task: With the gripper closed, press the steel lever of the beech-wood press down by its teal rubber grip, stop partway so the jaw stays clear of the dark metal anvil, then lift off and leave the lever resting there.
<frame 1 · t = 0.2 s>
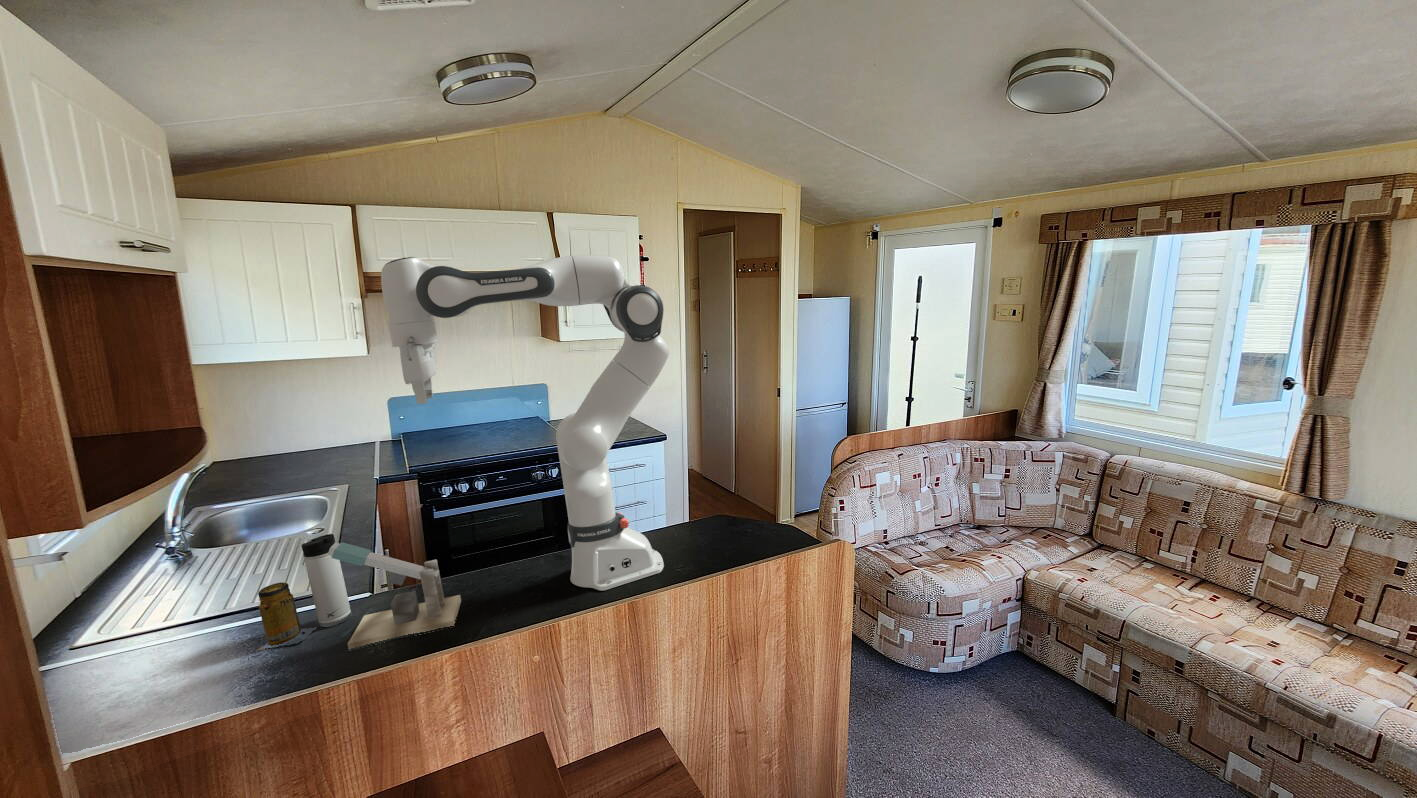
hand: (425, 400, 126), 47 cm above the table, tool pointing down, fingers open, 8 cm apart
press base: (408, 624, 127), on the table
travel mug: (336, 621, 133), on the table
press lever: (383, 568, 125), point 14 cm above the table, hinge at 30.0°
condiment: (289, 639, 127), on the table
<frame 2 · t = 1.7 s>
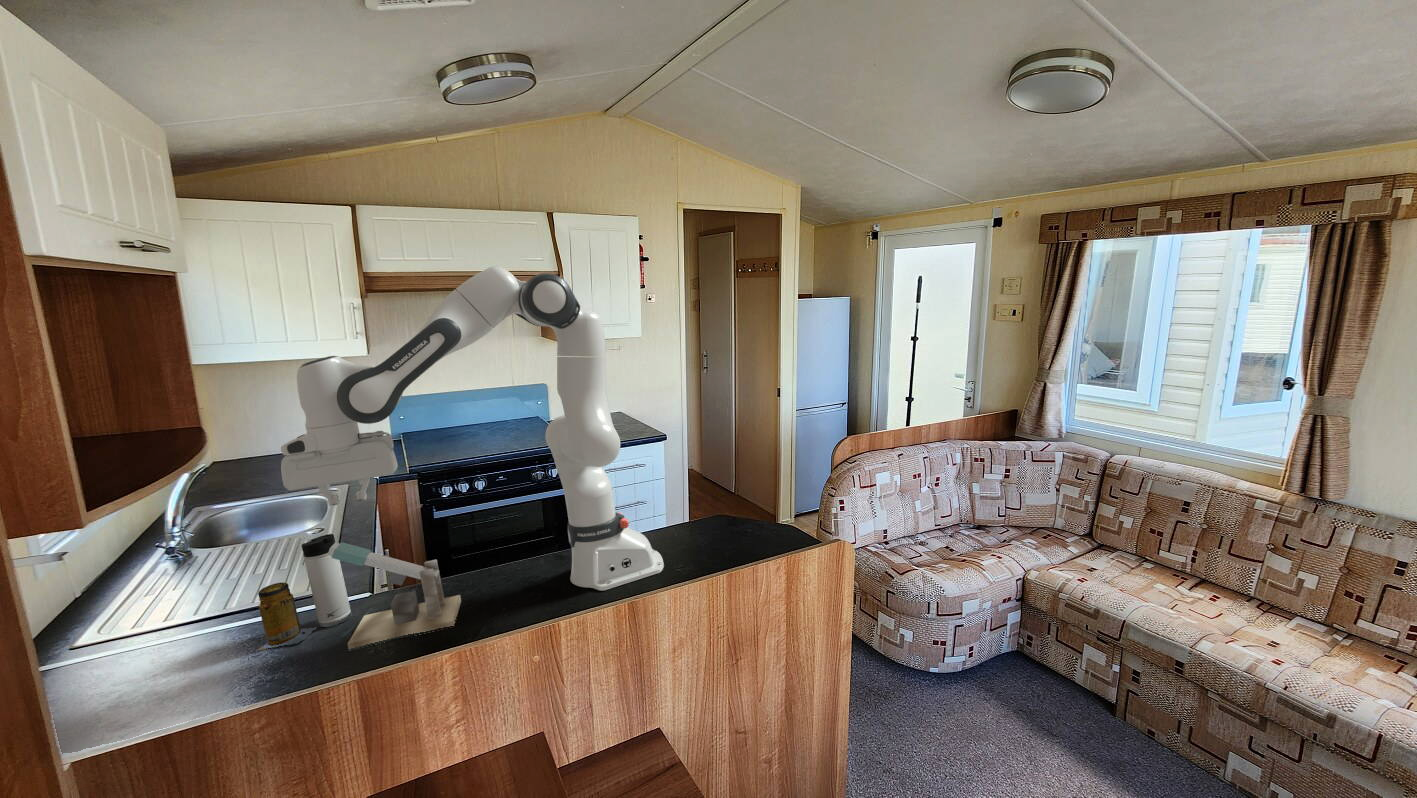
hand: (348, 502, 121), 29 cm above the table, tool pointing down, fingers open, 4 cm apart
nothing on the table moved.
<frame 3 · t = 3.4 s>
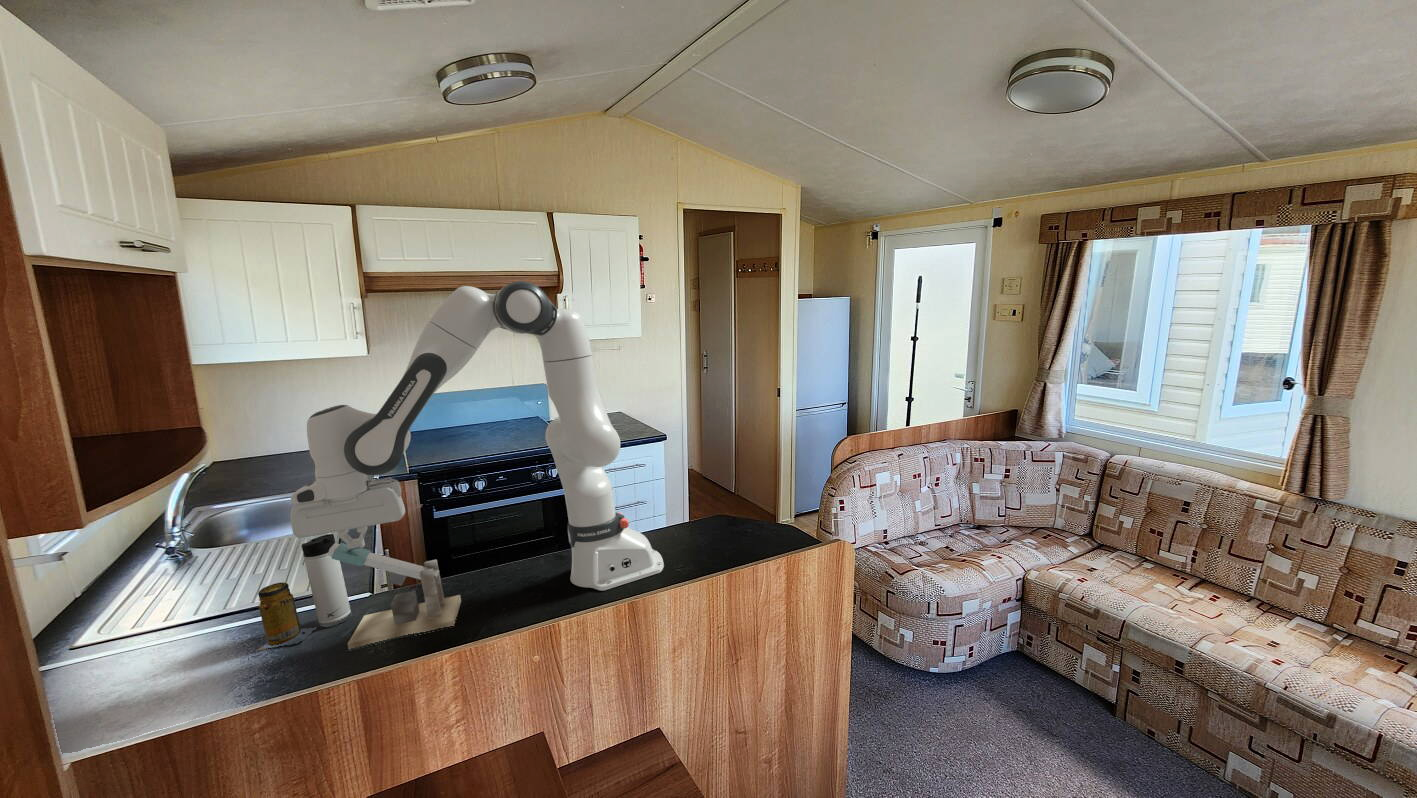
hand: (356, 548, 123), 19 cm above the table, tool pointing down, fingers closed
press lever: (383, 568, 125), point 14 cm above the table, hinge at 29.6°, touching gripper
everything else where it was.
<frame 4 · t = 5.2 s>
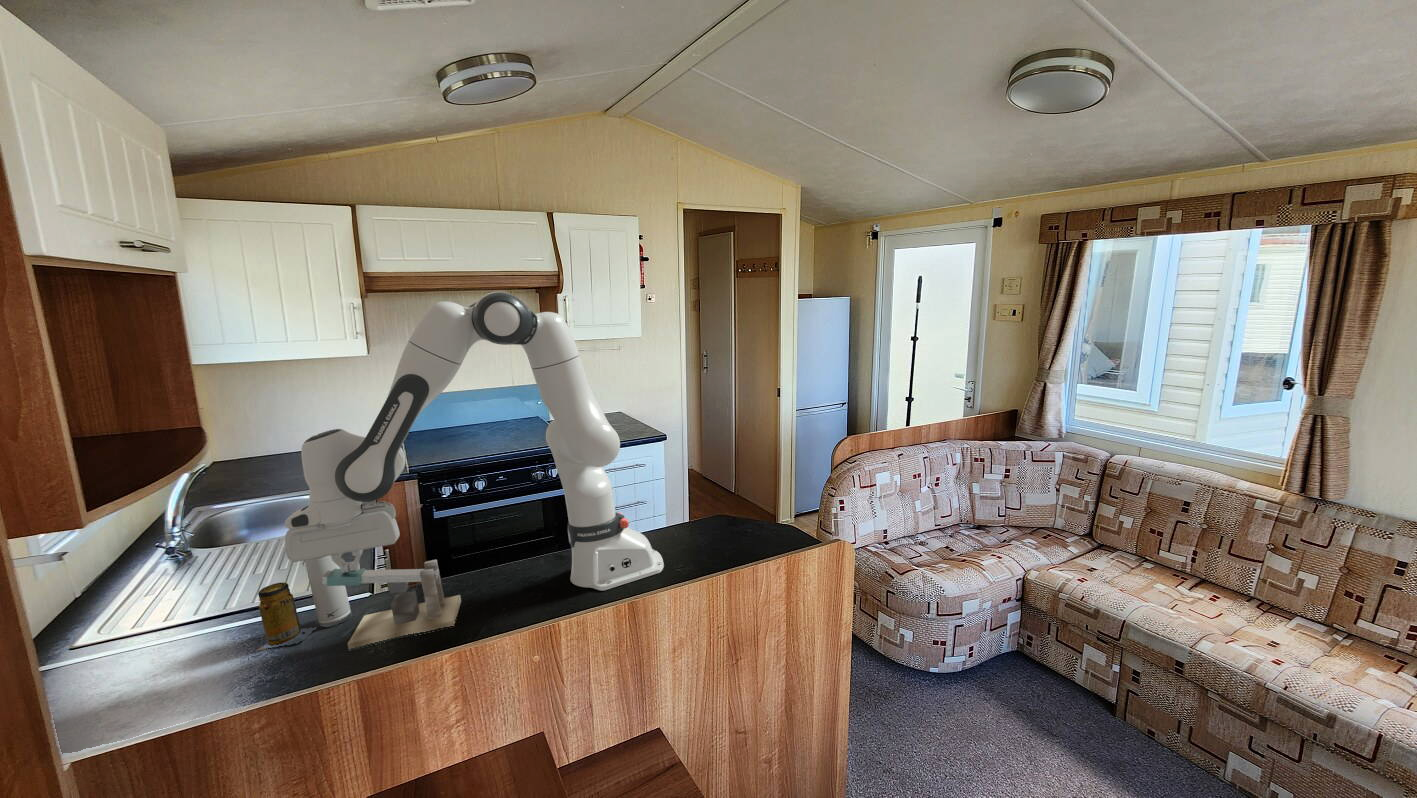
hand: (350, 571, 123), 14 cm above the table, tool pointing down, fingers closed
press lever: (382, 581, 125), point 11 cm above the table, hinge at 11.8°, touching gripper
everything else where it was.
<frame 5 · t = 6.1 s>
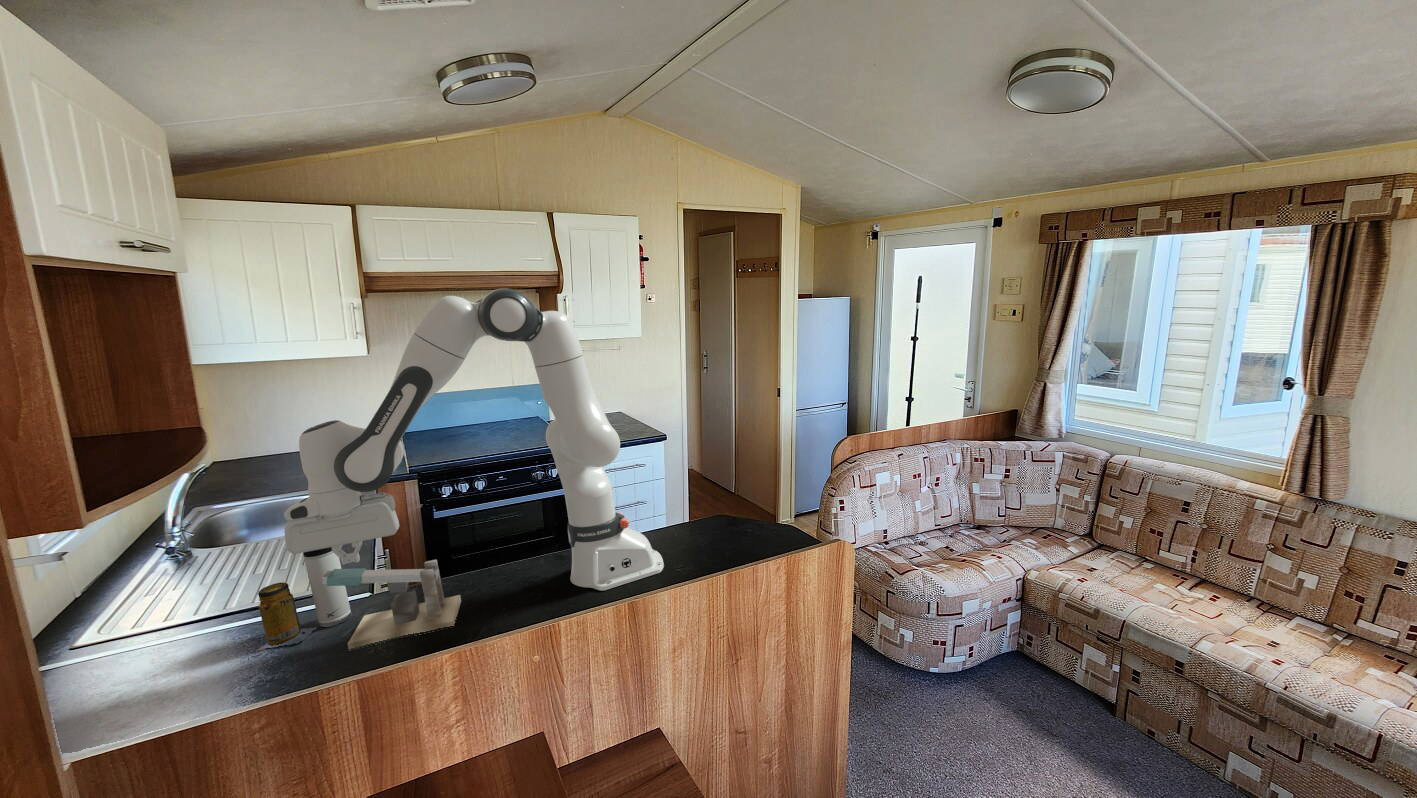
hand: (351, 562, 123), 16 cm above the table, tool pointing down, fingers closed
press lever: (382, 581, 125), point 11 cm above the table, hinge at 11.8°
everything else where it was.
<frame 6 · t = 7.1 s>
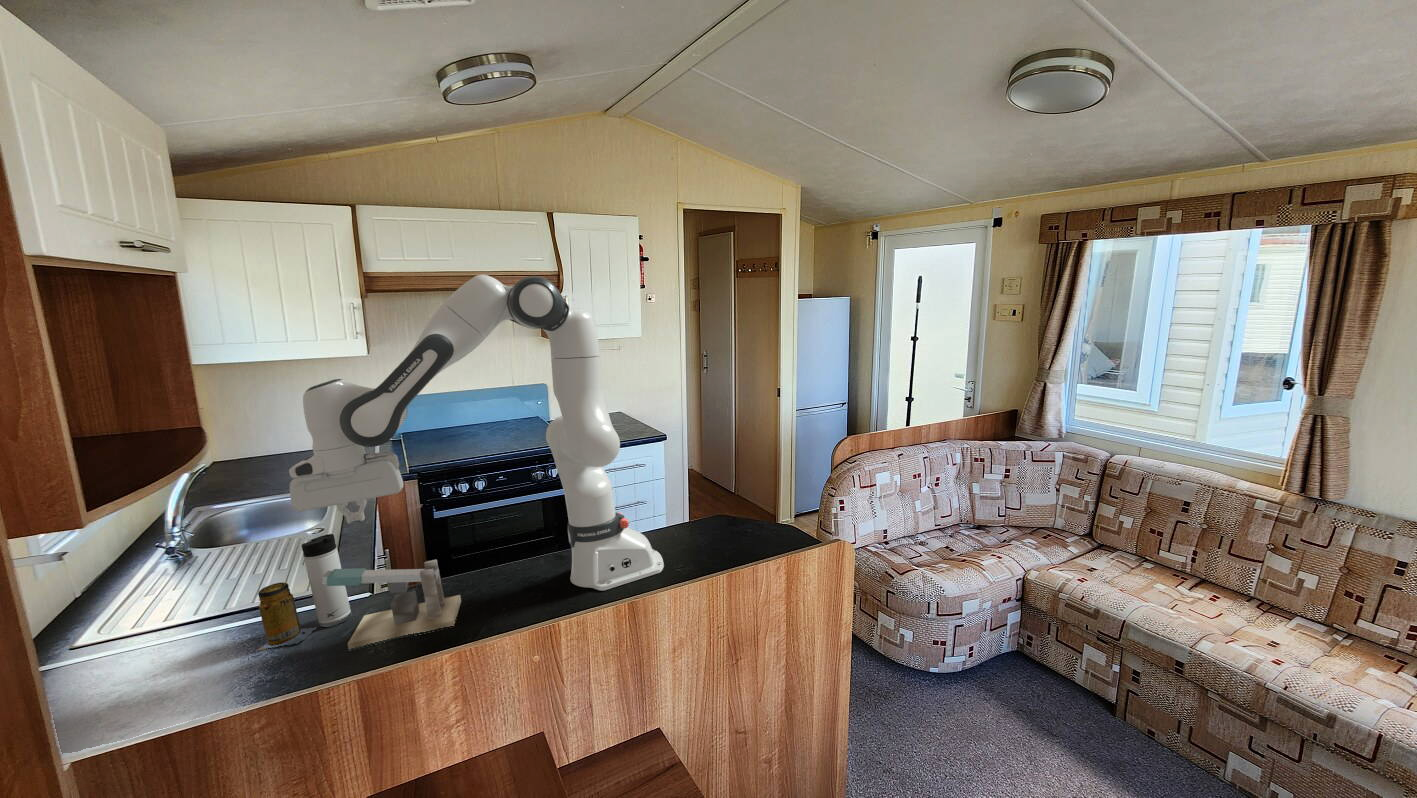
hand: (356, 521, 124), 24 cm above the table, tool pointing down, fingers closed
nothing on the table moved.
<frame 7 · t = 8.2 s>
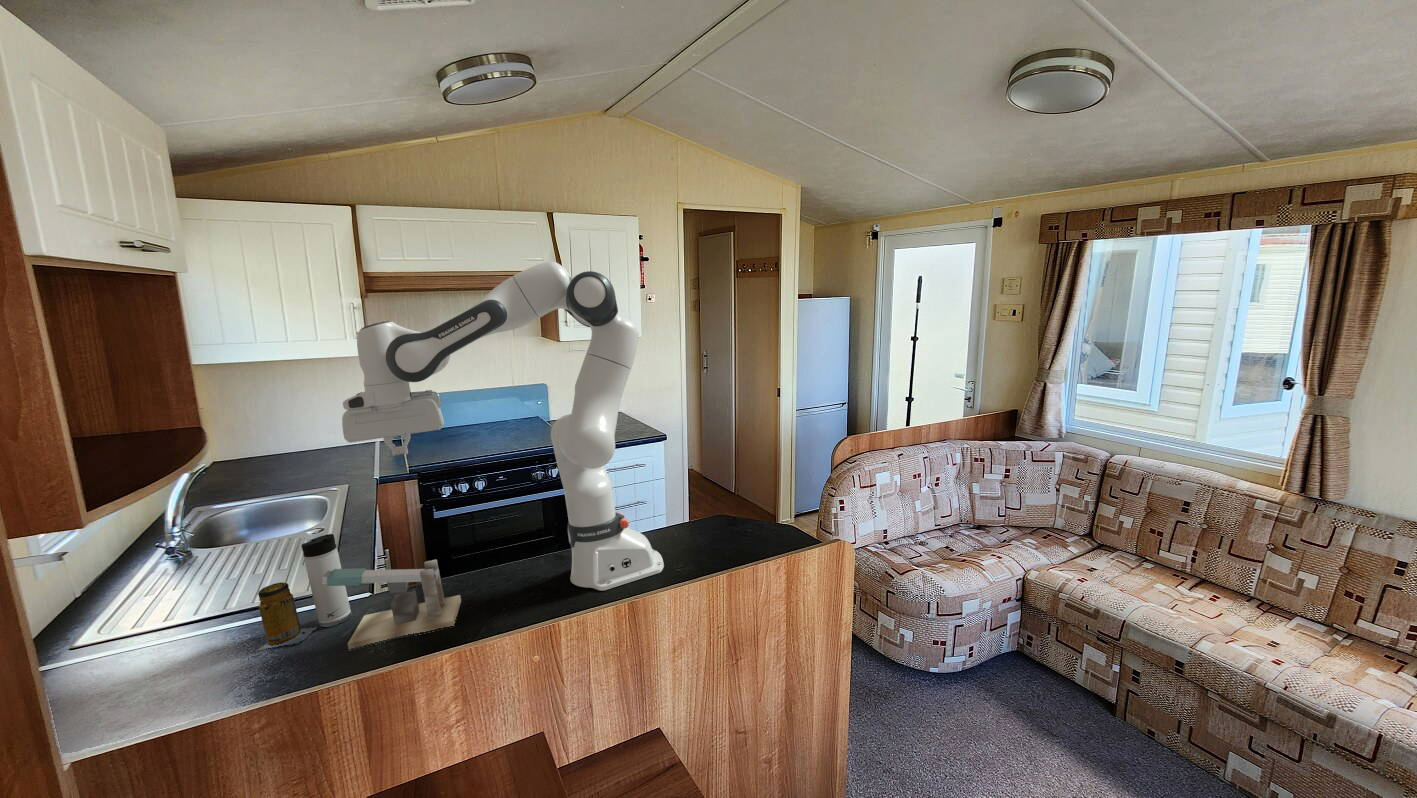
hand: (400, 454, 134), 35 cm above the table, tool pointing down, fingers closed
nothing on the table moved.
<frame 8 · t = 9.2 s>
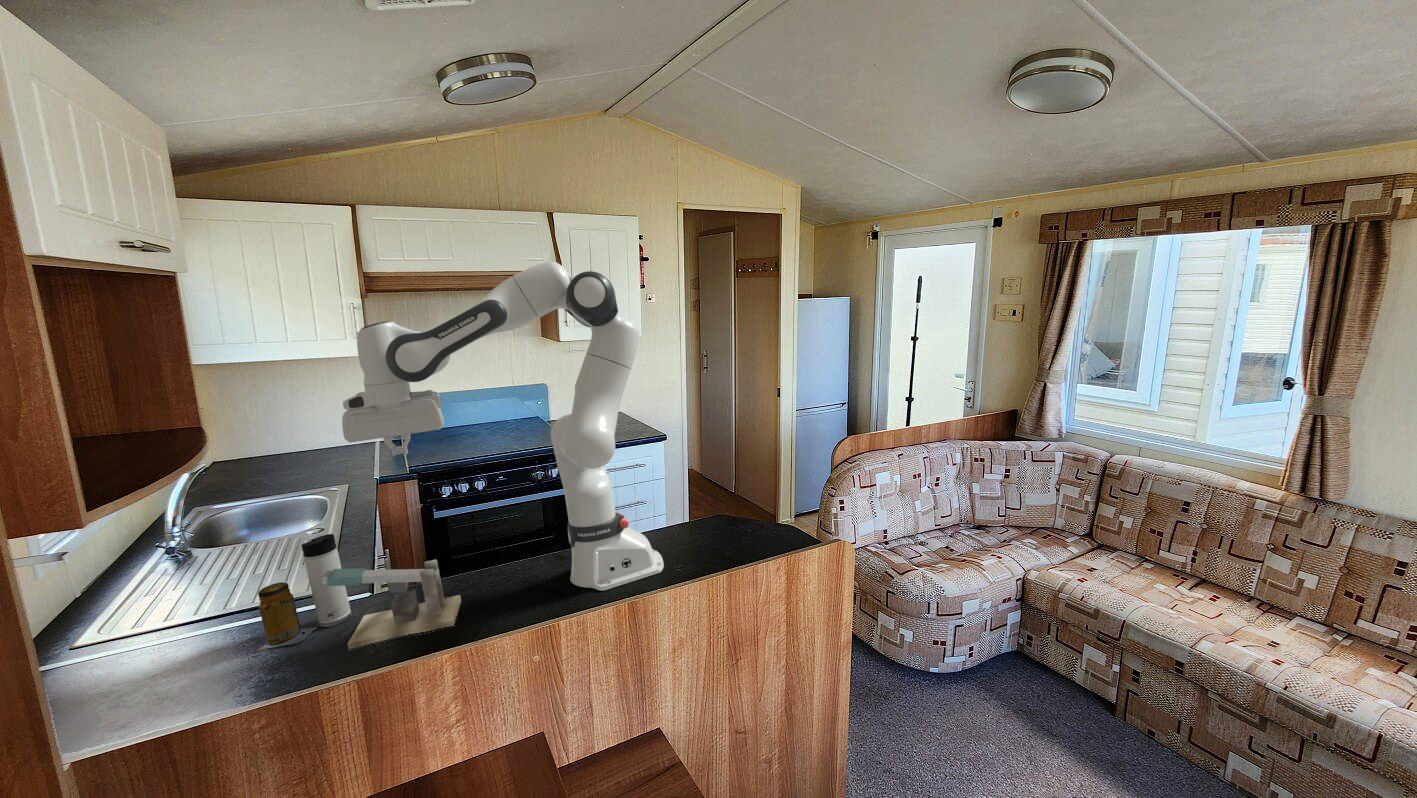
hand: (400, 454, 134), 35 cm above the table, tool pointing down, fingers closed
nothing on the table moved.
at the end: press lever at +12° (first picture: +30°); travel mug moved 0.2 cm from its start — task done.
